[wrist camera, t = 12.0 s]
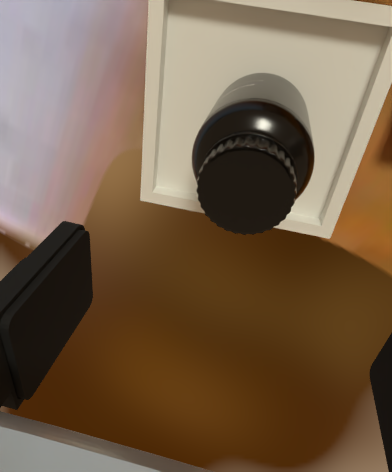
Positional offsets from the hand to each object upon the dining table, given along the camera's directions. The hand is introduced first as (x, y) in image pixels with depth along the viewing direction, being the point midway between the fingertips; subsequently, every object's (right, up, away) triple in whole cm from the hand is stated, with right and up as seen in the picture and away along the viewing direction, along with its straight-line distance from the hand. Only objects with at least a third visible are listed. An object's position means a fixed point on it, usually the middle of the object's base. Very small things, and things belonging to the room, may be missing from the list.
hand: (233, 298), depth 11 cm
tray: (+3, +11, +17) cm, 20 cm away
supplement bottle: (+4, +10, +17) cm, 20 cm away
